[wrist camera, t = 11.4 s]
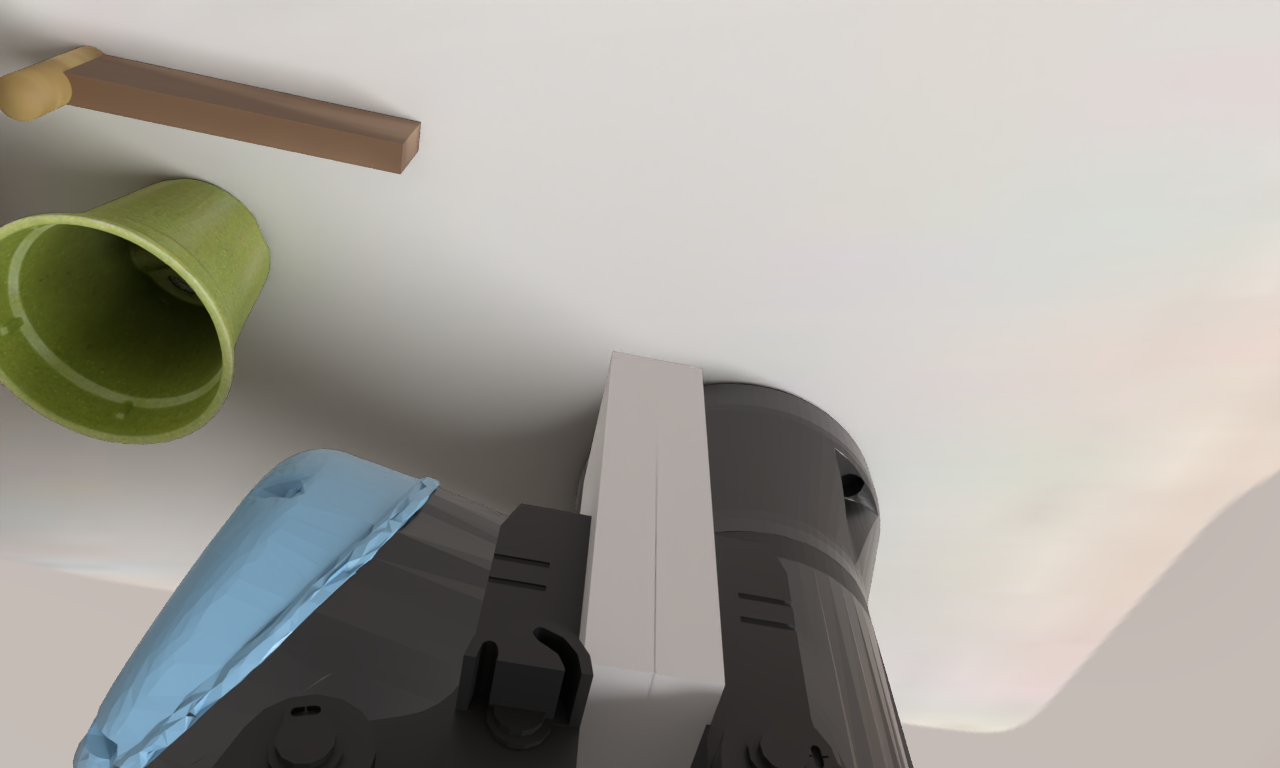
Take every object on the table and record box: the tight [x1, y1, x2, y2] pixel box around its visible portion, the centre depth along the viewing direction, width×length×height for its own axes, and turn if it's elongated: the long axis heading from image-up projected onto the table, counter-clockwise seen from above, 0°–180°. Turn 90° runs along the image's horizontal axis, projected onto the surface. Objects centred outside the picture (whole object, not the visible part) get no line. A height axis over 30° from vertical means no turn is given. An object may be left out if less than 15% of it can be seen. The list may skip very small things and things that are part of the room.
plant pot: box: [0, 179, 270, 444], centre depth 37 cm, size 9×9×9 cm
